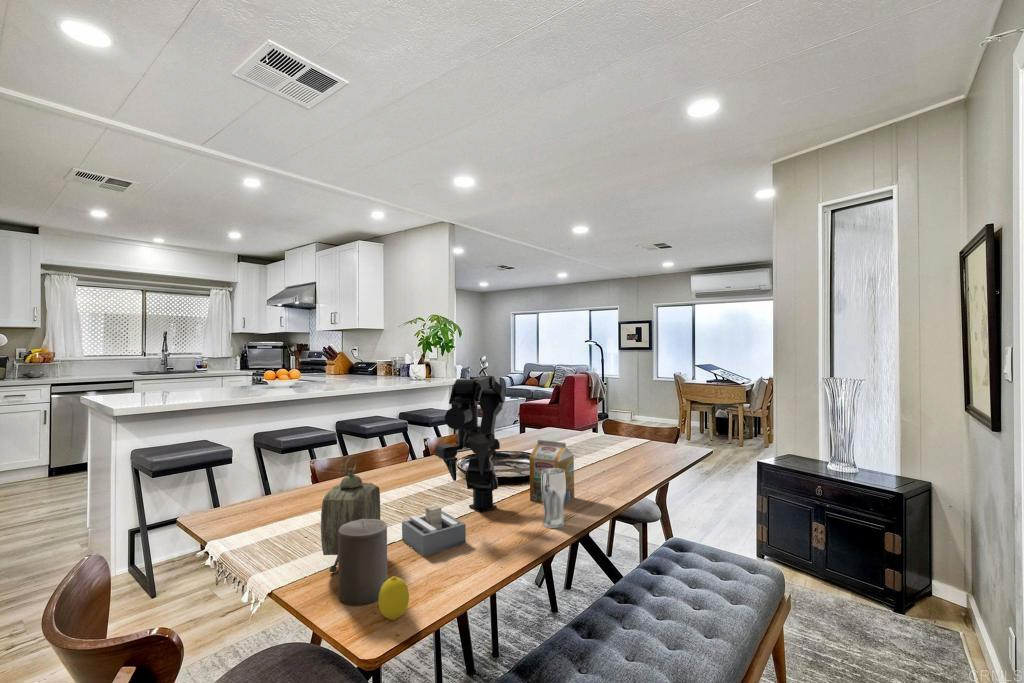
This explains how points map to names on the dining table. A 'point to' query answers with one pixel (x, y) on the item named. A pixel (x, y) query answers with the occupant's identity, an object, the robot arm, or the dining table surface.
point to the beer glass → (553, 496)
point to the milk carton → (550, 457)
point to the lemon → (393, 598)
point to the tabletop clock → (346, 508)
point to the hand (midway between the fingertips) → (468, 477)
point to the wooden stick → (434, 516)
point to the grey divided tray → (433, 534)
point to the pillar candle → (362, 561)
